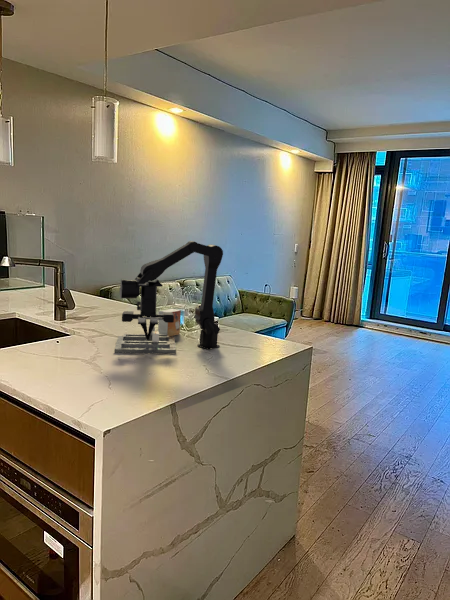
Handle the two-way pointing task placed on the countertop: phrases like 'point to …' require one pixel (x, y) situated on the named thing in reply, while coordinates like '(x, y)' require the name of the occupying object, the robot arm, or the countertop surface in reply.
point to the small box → (170, 327)
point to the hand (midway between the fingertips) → (147, 339)
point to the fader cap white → (155, 337)
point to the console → (145, 344)
